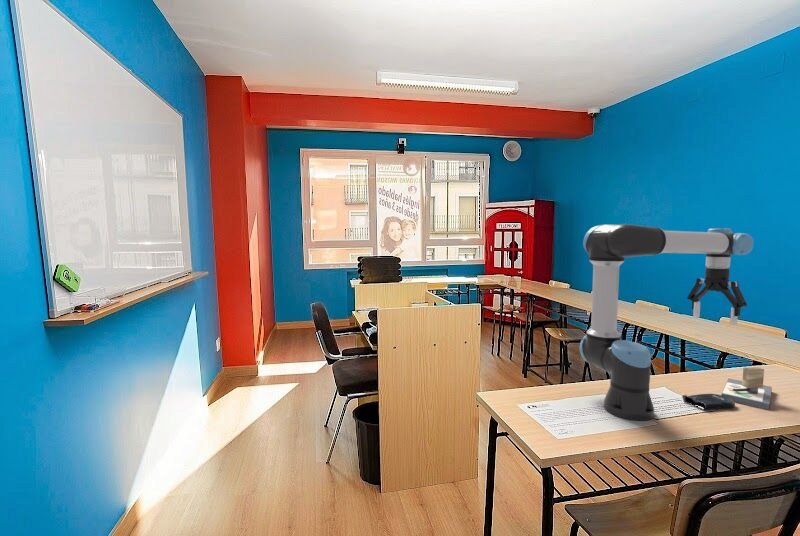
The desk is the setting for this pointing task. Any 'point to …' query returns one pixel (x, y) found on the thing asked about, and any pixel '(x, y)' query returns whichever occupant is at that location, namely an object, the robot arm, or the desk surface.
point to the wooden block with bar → (752, 379)
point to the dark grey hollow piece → (710, 401)
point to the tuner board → (747, 394)
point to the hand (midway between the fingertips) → (714, 320)
